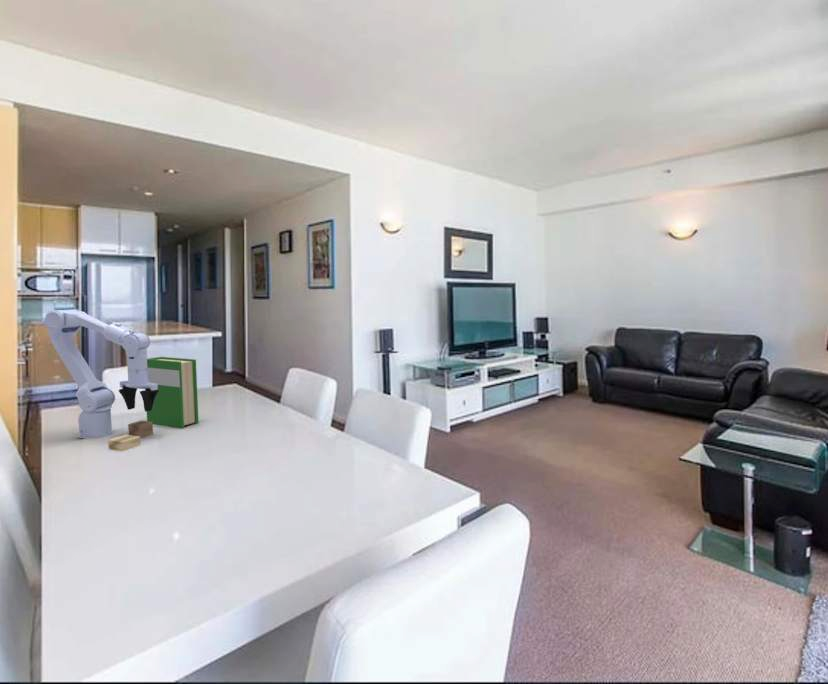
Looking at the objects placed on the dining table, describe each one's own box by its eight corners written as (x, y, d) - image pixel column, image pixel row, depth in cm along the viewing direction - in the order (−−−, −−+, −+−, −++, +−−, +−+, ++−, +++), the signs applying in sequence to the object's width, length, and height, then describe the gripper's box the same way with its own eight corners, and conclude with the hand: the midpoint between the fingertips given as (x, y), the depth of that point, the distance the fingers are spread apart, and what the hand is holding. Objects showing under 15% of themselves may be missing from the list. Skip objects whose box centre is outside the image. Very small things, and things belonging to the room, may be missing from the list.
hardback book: (198, 423, 177) (195, 359, 175) (181, 428, 170) (178, 362, 168) (164, 418, 184) (161, 356, 182) (147, 423, 177) (143, 359, 175)
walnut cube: (129, 438, 158) (128, 424, 158) (142, 434, 163) (141, 420, 163) (140, 440, 157) (139, 425, 156) (153, 436, 162) (152, 421, 161)
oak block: (108, 448, 146) (108, 440, 146) (126, 443, 151) (125, 434, 151) (123, 451, 144) (122, 442, 144) (140, 445, 149) (140, 436, 149)
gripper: (110, 370, 156) (112, 410, 158) (143, 372, 151) (145, 414, 153) (129, 366, 163) (131, 406, 164) (162, 369, 158) (164, 409, 159)
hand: (139, 409), depth 159 cm, fingers open, 7 cm apart
